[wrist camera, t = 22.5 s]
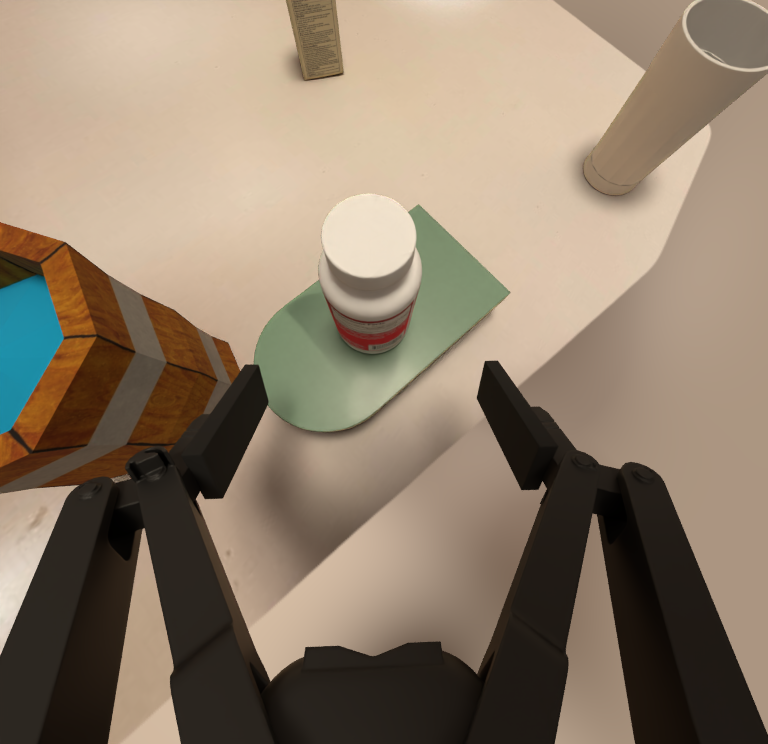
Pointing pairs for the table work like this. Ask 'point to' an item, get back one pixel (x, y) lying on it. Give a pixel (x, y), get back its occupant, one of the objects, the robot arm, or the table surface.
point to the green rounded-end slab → (362, 370)
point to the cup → (682, 90)
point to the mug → (91, 368)
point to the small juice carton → (316, 36)
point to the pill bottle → (370, 271)
